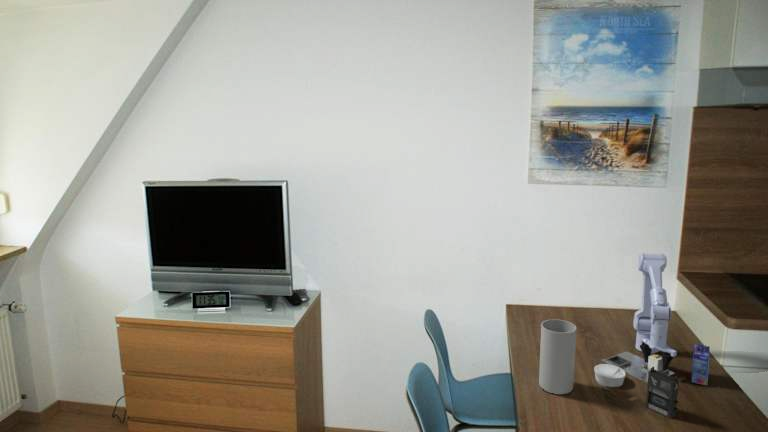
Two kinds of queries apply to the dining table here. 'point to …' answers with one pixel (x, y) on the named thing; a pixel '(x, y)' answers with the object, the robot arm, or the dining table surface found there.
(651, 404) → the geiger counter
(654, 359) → the plug
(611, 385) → the ramekin
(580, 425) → the dining table surface
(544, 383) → the cylinder vase
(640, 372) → the switch plate
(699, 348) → the ink cartridge box
